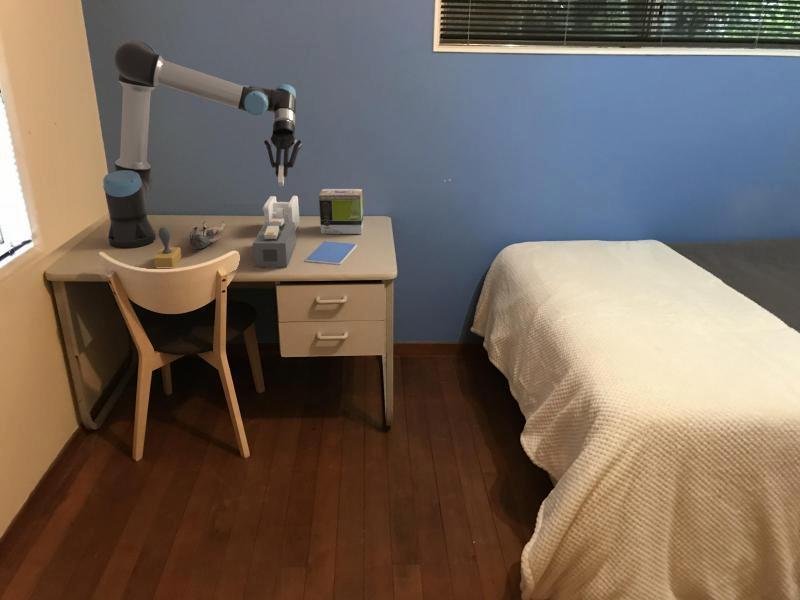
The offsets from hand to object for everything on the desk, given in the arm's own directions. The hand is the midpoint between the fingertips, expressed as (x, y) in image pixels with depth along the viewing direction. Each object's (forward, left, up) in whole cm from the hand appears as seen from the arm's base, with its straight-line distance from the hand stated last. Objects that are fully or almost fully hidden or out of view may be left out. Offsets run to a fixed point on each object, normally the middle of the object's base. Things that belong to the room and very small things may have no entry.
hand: (280, 184), depth 207 cm
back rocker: (-1, -8, -11) cm, 14 cm away
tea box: (+19, +13, -21) cm, 31 cm away
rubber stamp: (-34, -21, -21) cm, 45 cm away
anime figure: (-27, 0, -21) cm, 34 cm away
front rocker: (-1, -19, -11) cm, 22 cm away
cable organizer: (-3, +13, -21) cm, 25 cm away
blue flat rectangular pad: (+17, -12, -21) cm, 30 cm away
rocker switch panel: (-1, -14, -20) cm, 25 cm away
